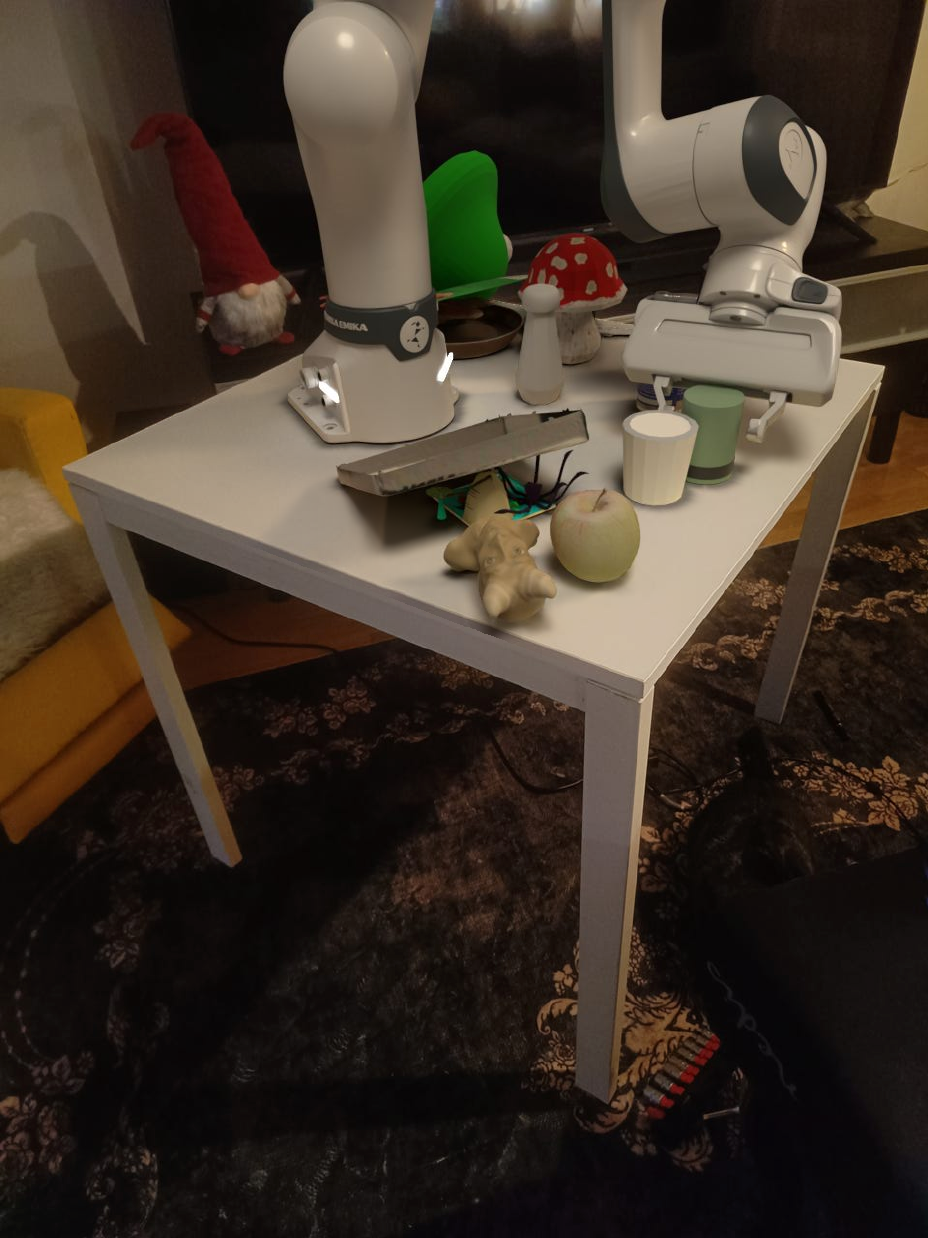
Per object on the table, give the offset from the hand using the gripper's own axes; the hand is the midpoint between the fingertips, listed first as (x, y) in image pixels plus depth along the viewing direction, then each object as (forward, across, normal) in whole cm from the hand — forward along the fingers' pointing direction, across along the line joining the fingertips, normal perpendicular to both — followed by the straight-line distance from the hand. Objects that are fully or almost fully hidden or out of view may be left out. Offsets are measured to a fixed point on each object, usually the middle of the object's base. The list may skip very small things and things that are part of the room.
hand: (707, 432), depth 77 cm
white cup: (+7, -3, 0) cm, 8 cm away
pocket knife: (-22, -22, +28) cm, 41 cm away
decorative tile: (+16, -27, -15) cm, 35 cm away
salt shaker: (-5, -22, +12) cm, 26 cm away
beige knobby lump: (+17, -13, -15) cm, 26 cm away
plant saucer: (-15, -41, +22) cm, 49 cm away
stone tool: (-20, -37, +20) cm, 47 cm away
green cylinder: (+3, 0, +4) cm, 4 cm away
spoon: (-20, -32, +24) cm, 45 cm away
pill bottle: (-7, -8, +13) cm, 17 cm away
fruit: (+18, -4, -11) cm, 21 cm away
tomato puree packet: (-14, -44, +10) cm, 48 cm away
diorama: (+13, -15, -7) cm, 21 cm away
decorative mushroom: (-15, -24, +21) cm, 36 cm away
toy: (-34, -54, +22) cm, 67 cm away
